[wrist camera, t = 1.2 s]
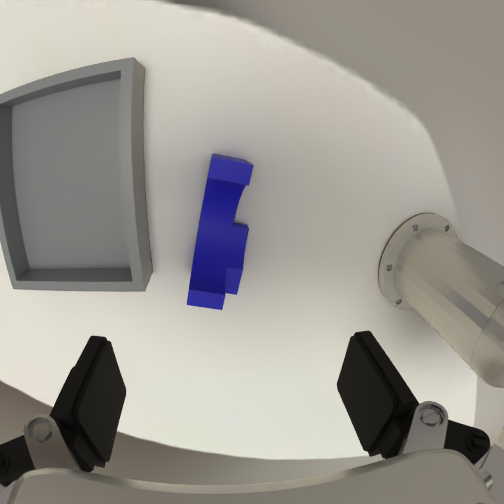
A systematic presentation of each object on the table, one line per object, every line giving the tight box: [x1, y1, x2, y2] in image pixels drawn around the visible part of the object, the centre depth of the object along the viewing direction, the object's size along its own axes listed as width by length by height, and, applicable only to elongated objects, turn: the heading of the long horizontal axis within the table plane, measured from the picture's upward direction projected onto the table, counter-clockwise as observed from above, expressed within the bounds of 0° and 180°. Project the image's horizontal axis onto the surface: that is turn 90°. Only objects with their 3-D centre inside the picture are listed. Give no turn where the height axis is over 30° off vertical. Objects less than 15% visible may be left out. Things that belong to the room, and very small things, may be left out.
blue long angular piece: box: [187, 154, 253, 310], centre depth 25 cm, size 12×4×6 cm, turn 167°
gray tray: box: [0, 57, 153, 292], centre depth 22 cm, size 16×20×4 cm
